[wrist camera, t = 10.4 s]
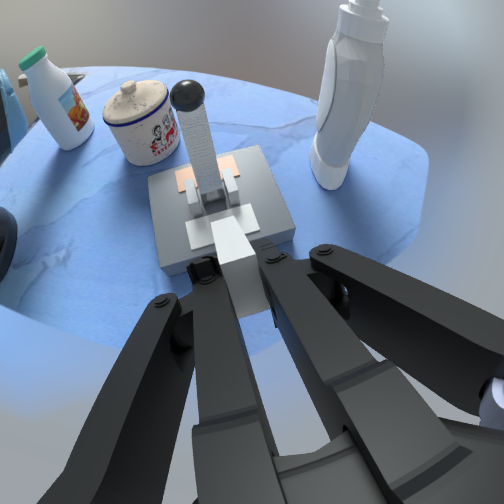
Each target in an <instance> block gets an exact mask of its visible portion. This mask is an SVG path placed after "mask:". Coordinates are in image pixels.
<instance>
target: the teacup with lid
mask: <svg viewBox="0 0 504 504" xmlns="http://www.w3.org/2000/svg"><path fill="white" fill-rule="evenodd" d="M168 95H169V92H168V89H167V87H166V86H165V85H164V84H163V83H161V82H159V81H155V80H145V81H140V82H135V81H132V80H130V81H127V82H125V83H123V84H122V86H121V90H120V91H118V92H117V93H115V94H114V95H113V96H112V97H111V98H110V99H109V100H108V102H107V103H106V104H105V106H104V109H103V120H104V122H105V123H106V124H107V125H108V126H109V128H110V129H111V131H112V133H113V135H114V137H115V139H116V140H117V142H118V144H119V146H120V148H121V150H122V151H123V153H124V155H125V157H126V159H127V160H128V161H129V162H130V163H132V164H134V165H137V166H148V165H152V164H155V163H158V162H160V161H162V160H164V159H165V158H167V157H168V156H169V155H170V154H171V153H172V152H173V151H174V150H175V149H176V147H177V146H178V143H179V140H180V134H179V131H178V127H177V124H176V121H175V118H174V115H173V111H172V108H171V105H170V101H169V98H168Z"/></svg>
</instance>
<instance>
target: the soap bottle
mask: <svg viewBox="0 0 504 504" xmlns="http://www.w3.org/2000/svg"><path fill="white" fill-rule="evenodd" d="M378 5H379V0H349V3H348V5H341V6H340V8H339V16H338V22H337V29H336V31H335V33H334V35H333V38H332V39H331V40H330V42H329V44H328V49H327V54H326V62H325V68H324V74H323V80H322V85H321V91H320V96H319V102H318V108H317V115H316V128H317V133H316V134H315V137H314V140H313V143H312V147H311V152H310V156H309V157H310V162H311V167H312V171H313V173H314V175H315V178H316V180H317V182H318V183H319V184H320V185H321V186H322V187H323V188H325V189H327V190H329V191H330V190H336V189H337V188H338V187H340V186H341V185H342V183H343V181H344V178H345V176H346V173H347V170H348V166H349V162H350V157H351V153H352V151H353V150H354V148H355V146H356V144H357V142H358V140H359V138H360V137H361V135H362V134H363V132H364V131H365V129H366V127H367V126H368V124H369V122H370V120H371V118H372V115H373V113H374V110H375V108H376V104H377V101H378V98H379V94H380V90H381V85H382V80H383V74H384V57H383V42H384V39H385V35H386V31H387V27H388V23H389V20H388V18H386V17H385V16H384V15H382V14H383V9H382V8H380V7H378Z"/></svg>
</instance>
